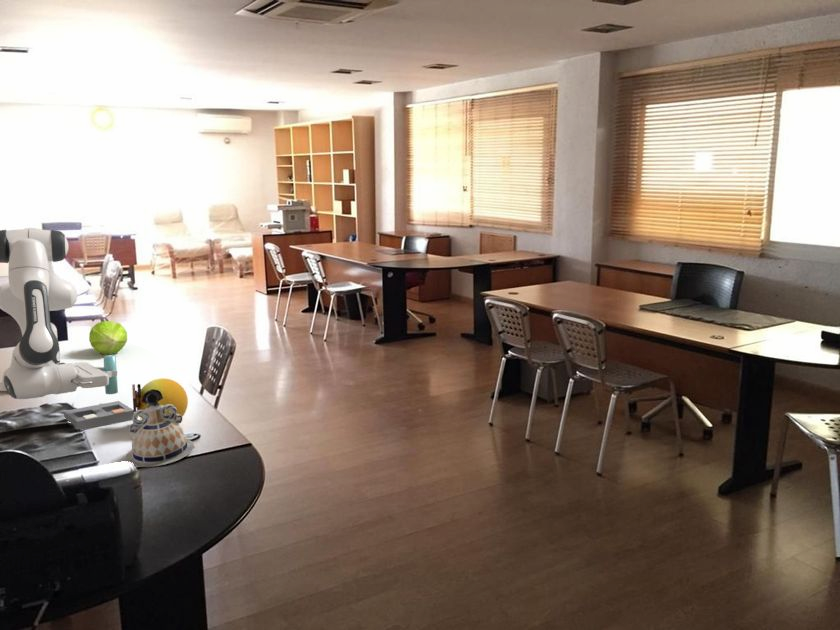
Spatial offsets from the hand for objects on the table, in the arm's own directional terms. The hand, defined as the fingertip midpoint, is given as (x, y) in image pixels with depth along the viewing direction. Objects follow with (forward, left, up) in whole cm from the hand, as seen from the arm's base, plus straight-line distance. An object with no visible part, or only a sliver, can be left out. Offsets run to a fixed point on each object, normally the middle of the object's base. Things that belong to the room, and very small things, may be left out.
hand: (113, 370), depth 216 cm
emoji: (+17, -10, -15) cm, 25 cm away
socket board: (-4, -3, -15) cm, 16 cm away
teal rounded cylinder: (-1, -1, -7) cm, 7 cm away
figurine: (+22, -34, -16) cm, 43 cm away
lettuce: (-29, +90, -15) cm, 96 cm away
